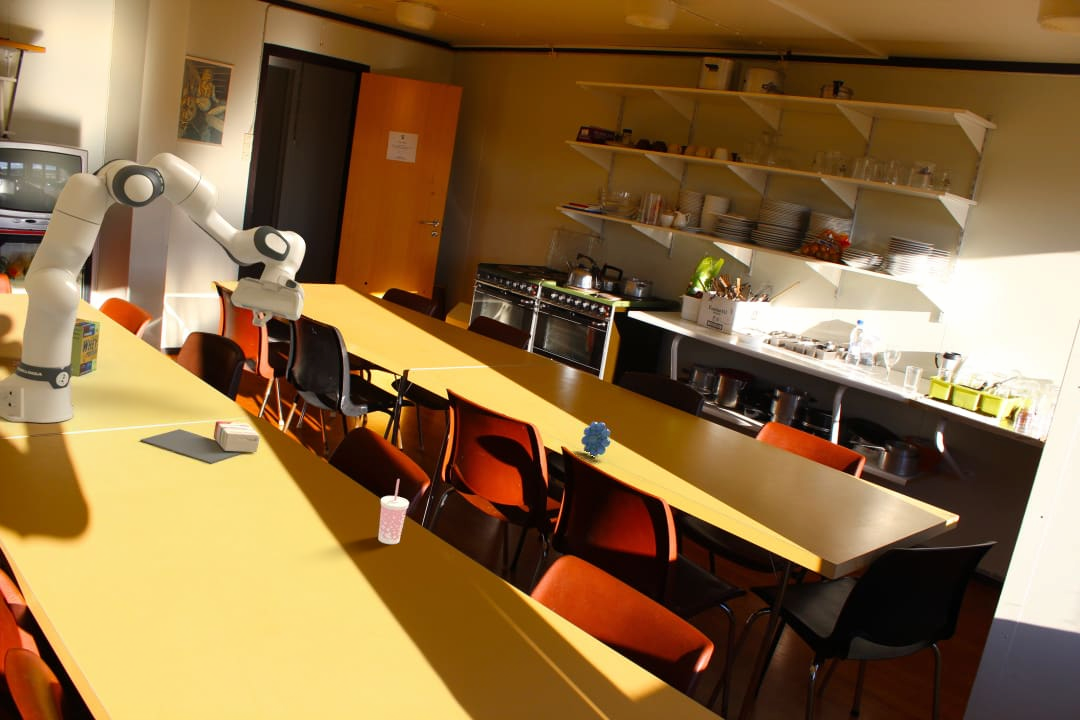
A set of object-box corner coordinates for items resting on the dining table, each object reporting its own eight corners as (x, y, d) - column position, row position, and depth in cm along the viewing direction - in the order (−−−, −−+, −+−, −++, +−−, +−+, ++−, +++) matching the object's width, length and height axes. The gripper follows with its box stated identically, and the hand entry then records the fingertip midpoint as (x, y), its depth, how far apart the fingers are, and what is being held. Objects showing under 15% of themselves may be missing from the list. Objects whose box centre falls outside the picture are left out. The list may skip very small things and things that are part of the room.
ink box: (212, 438, 237) (223, 451, 227) (215, 420, 236) (226, 432, 227) (245, 440, 242) (257, 452, 232) (248, 422, 241) (260, 434, 232)
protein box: (79, 377, 270) (84, 327, 268) (29, 368, 270) (32, 317, 267) (97, 370, 281) (101, 322, 278) (48, 361, 280) (52, 313, 278)
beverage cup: (390, 548, 191) (399, 486, 188) (368, 538, 194) (378, 477, 191) (408, 541, 196) (418, 481, 194) (387, 531, 199) (397, 472, 197)
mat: (140, 441, 226) (140, 439, 226) (179, 430, 240) (179, 429, 239) (210, 464, 220) (210, 462, 220) (247, 451, 233) (247, 450, 233)
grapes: (614, 462, 284) (622, 426, 282) (600, 463, 280) (607, 427, 277) (589, 450, 293) (596, 415, 290) (574, 451, 288) (581, 415, 286)
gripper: (238, 270, 257) (219, 311, 252) (305, 286, 255) (288, 328, 250) (245, 280, 263) (226, 321, 258) (310, 296, 261) (293, 338, 256)
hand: (257, 325), depth 254 cm, fingers closed
